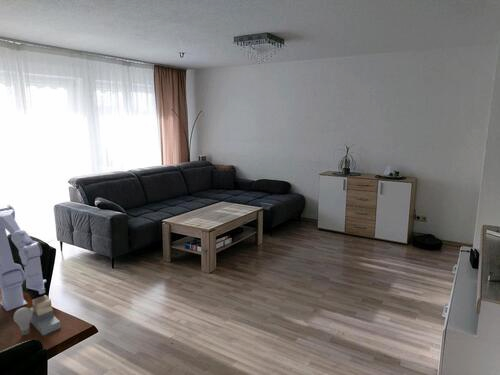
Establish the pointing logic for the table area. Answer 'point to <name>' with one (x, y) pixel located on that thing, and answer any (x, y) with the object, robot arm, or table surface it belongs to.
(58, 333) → the table surface
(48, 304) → the birch cube
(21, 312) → the lightbulb
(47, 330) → the steps
